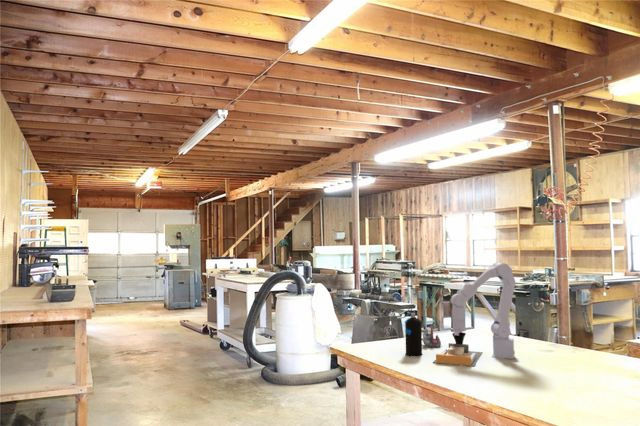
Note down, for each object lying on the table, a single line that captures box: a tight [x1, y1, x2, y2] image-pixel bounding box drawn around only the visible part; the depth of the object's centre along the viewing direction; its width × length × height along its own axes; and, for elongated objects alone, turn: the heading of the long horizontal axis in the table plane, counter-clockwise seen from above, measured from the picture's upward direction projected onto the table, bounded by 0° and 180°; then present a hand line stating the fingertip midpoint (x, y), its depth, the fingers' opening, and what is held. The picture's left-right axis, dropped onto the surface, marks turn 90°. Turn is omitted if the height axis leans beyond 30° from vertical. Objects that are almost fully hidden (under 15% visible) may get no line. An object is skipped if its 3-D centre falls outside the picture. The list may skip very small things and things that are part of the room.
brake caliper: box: [422, 324, 442, 348], centre depth 262 cm, size 11×11×12 cm
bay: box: [432, 348, 484, 368], centre depth 235 cm, size 18×31×4 cm, turn 155°
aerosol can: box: [404, 312, 424, 357], centre depth 242 cm, size 8×8×20 cm
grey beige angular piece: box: [446, 342, 470, 356], centre depth 230 cm, size 9×12×6 cm
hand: (459, 348), depth 236 cm, fingers closed
